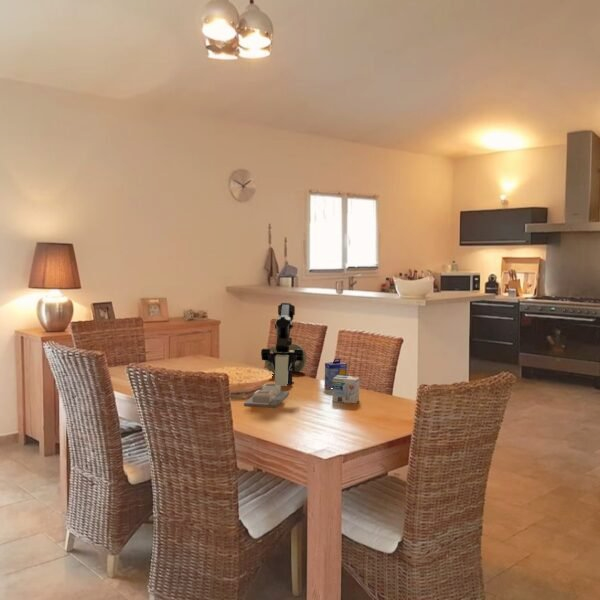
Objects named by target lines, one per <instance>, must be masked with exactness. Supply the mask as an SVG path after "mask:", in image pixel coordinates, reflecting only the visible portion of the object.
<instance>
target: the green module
mask: <svg viewBox="0 0 600 600" xmlns="http://www.w3.org/2000/svg"><path fill="white" fill-rule="evenodd" d="M288 360H289V355H276V360H275V375H274V384H275V386H281V387H287V386H288V385H289V384H288ZM287 384H288V385H287Z"/></svg>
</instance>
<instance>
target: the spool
mask: <svg viewBox="0 0 600 600" xmlns="http://www.w3.org/2000/svg"><path fill="white" fill-rule="evenodd" d="M268 349H270V351H274V352H276V345H275V346H274V345H273V346H271V347H269V348H268ZM294 349H302V350H303V360H302V361H296V362H295V371H294V372H296V373H297V372H300V371H303V370H304V369H305V367H306V364H307V354H306V351H305V349H304V346H301V345H300V344H298V343H292V345H290V352H294ZM274 358H275V360H276V356H274ZM264 362H265V367H266V369H267V371H268V370H269V371H272V372H273V373H274V374H275V371H274V368H273V366H272V364H271V362H269V361H268V360H264ZM291 369H292V368H291ZM269 371H268V372H269Z"/></svg>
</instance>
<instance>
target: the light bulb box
mask: <svg viewBox="0 0 600 600" xmlns="http://www.w3.org/2000/svg"><path fill="white" fill-rule="evenodd" d="M360 380H361V379H360V377H359V376H350V375H349V376H348V375H346V376H340V375H337V376H336V377H334V378H333V389H332V396H331V397H332V398H331V399H332V402H337V403H343V402H344V403H343V404H351V403H355V404H357V403H358V402H360ZM357 401H358V402H357Z"/></svg>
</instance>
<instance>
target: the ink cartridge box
mask: <svg viewBox="0 0 600 600" xmlns="http://www.w3.org/2000/svg"><path fill="white" fill-rule="evenodd" d="M341 360H342V358H333V361H331V362H325V363H324V388H325V389H327V388H328V390H332V389H331V388H333V378H334V377H336V376H337V375H340V376H347V373H348V372H347V371H348V363H346V362H344V361H343V362H342V361H341Z"/></svg>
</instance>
